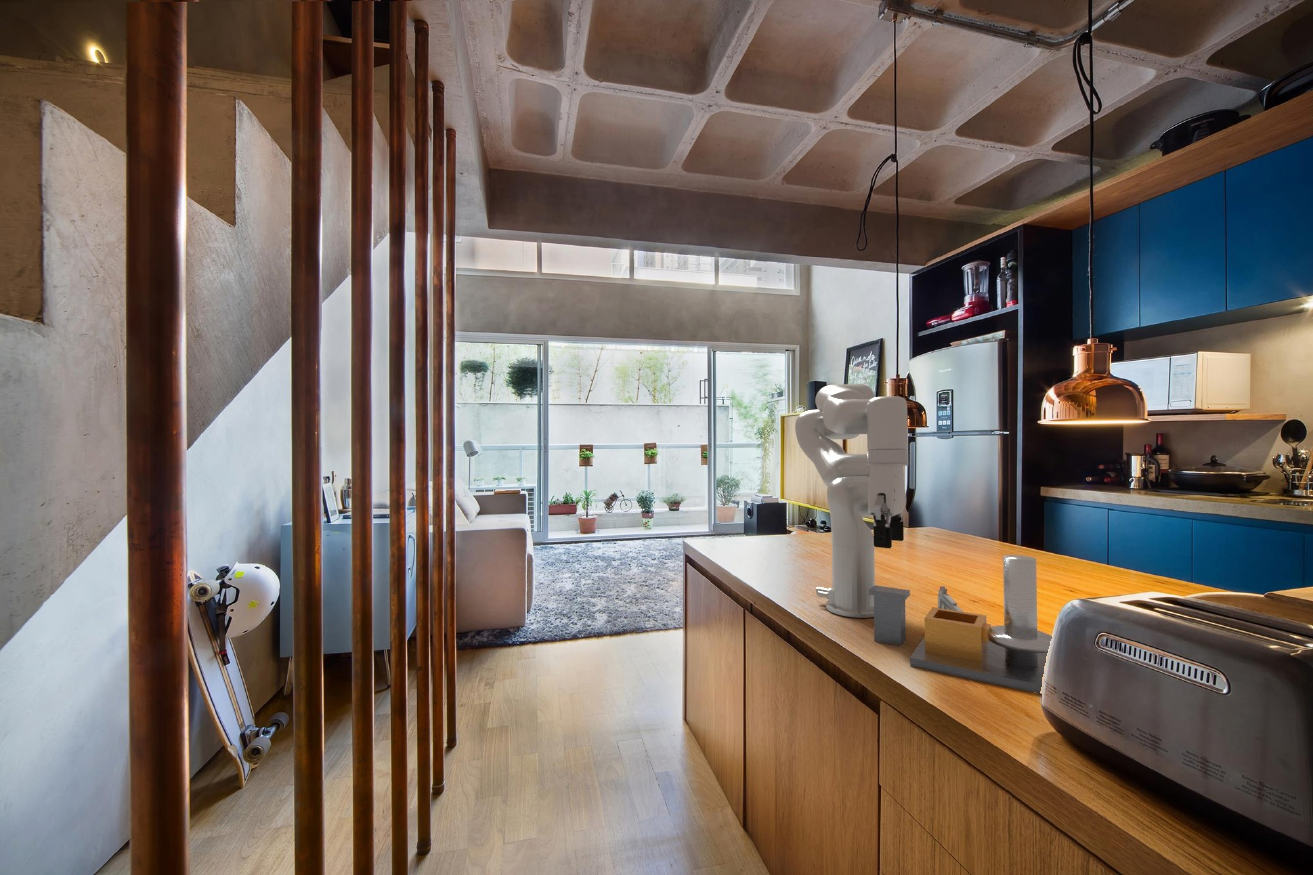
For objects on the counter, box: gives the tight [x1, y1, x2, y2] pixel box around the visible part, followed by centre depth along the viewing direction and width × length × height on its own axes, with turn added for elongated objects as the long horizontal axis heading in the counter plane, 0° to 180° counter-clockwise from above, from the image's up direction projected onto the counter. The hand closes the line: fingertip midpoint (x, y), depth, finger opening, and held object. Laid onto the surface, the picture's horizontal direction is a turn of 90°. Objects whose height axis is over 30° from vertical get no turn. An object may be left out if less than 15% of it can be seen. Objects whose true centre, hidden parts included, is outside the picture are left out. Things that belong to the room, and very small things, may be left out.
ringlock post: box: [909, 554, 1053, 695], centre depth 98 cm, size 21×18×20 cm
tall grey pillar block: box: [869, 584, 911, 647], centre depth 110 cm, size 7×4×10 cm, turn 53°
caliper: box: [937, 585, 964, 612], centre depth 119 cm, size 20×1×6 cm, turn 176°
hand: (889, 543), depth 110 cm, fingers open, 9 cm apart
